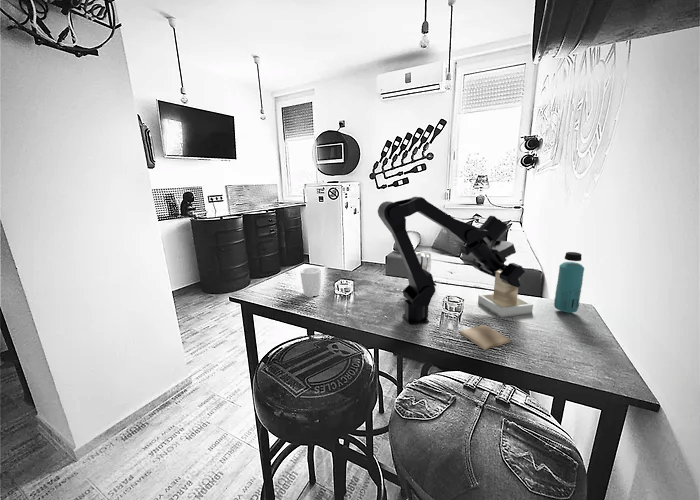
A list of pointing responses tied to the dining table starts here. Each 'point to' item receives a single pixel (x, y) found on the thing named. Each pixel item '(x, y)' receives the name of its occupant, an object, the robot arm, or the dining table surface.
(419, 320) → the robot arm
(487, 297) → the tray
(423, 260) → the beer glass
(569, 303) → the beverage bottle
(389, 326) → the dining table surface
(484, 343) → the cork coaster
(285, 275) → the dining table surface
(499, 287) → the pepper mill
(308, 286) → the white cup
